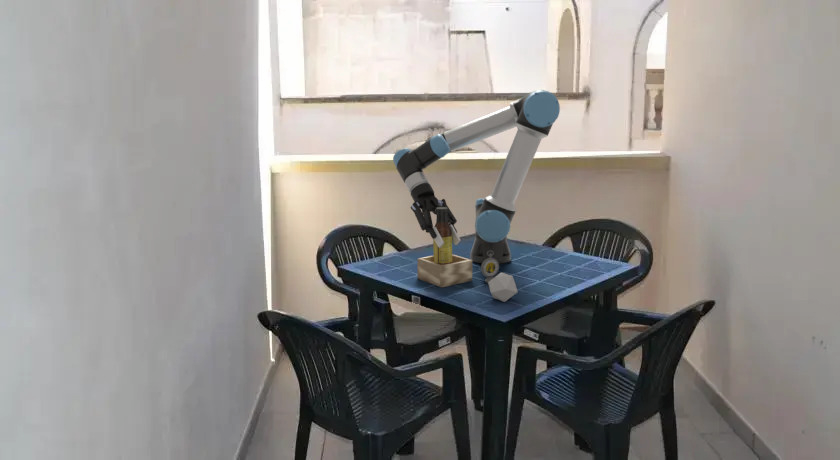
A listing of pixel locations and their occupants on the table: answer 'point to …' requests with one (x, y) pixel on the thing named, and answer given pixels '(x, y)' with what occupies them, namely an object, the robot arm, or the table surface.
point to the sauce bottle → (443, 238)
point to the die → (502, 287)
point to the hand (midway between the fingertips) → (449, 244)
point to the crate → (445, 271)
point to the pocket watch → (489, 267)
